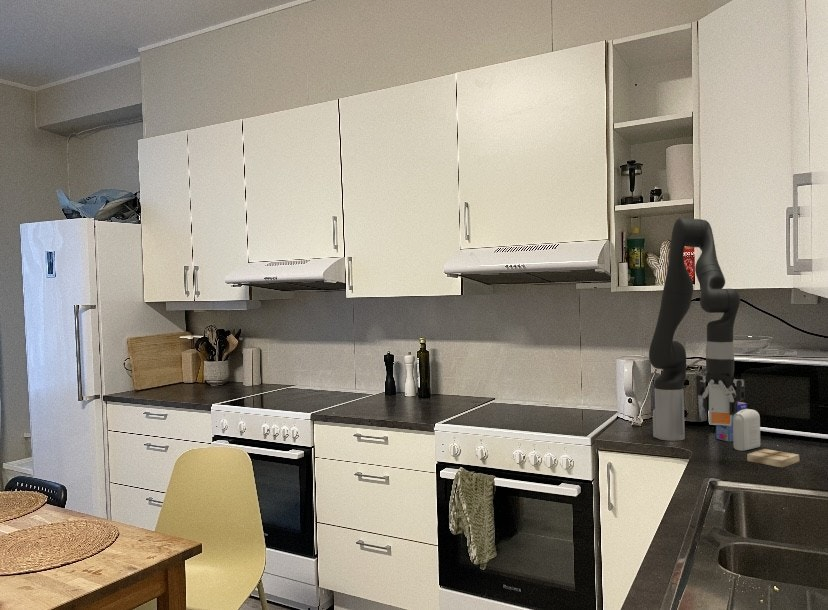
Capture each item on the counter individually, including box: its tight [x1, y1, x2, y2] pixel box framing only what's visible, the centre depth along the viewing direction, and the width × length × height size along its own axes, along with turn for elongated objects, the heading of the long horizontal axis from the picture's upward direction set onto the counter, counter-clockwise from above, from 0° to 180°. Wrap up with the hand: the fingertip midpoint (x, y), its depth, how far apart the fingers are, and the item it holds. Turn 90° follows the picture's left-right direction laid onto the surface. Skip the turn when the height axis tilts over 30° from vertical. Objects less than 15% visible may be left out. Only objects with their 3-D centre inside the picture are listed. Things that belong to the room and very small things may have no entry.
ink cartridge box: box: [715, 401, 748, 443], centre depth 221 cm, size 10×6×14 cm, turn 119°
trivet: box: [746, 448, 800, 468], centre depth 192 cm, size 10×10×2 cm
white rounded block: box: [732, 408, 761, 452], centre depth 208 cm, size 10×4×12 cm, turn 123°
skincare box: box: [708, 384, 733, 426], centre depth 193 cm, size 6×4×12 cm
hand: (720, 412), depth 193 cm, fingers closed on skincare box, 7 cm apart
